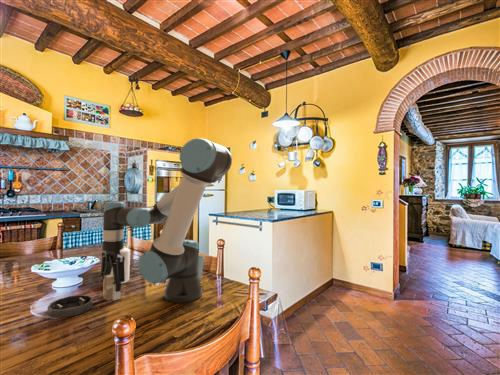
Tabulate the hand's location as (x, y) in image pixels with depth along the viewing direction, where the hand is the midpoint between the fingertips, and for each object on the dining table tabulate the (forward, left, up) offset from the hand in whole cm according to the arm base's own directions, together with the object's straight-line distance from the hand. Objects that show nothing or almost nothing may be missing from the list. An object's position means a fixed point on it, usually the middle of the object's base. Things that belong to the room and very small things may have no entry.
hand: (111, 296), depth 104 cm
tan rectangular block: (0, 0, 0) cm, 0 cm away
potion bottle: (+15, -11, 0) cm, 19 cm away
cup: (-9, -37, 0) cm, 38 cm away
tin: (+1, +14, 0) cm, 14 cm away
